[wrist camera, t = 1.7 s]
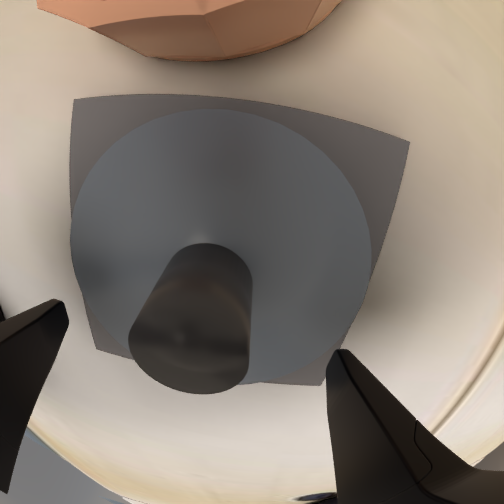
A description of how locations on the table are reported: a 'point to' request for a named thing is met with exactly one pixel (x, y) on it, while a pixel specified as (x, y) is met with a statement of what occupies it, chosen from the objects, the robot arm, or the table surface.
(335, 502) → the portable speaker
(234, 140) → the lid
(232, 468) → the table surface
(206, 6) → the bowl
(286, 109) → the mat
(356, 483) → the robot arm
